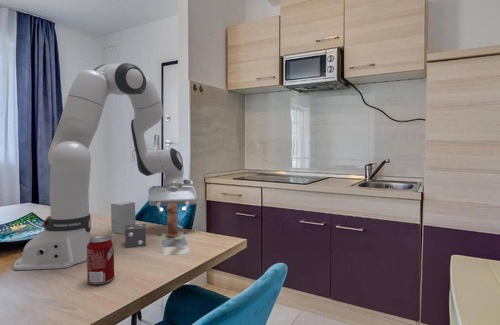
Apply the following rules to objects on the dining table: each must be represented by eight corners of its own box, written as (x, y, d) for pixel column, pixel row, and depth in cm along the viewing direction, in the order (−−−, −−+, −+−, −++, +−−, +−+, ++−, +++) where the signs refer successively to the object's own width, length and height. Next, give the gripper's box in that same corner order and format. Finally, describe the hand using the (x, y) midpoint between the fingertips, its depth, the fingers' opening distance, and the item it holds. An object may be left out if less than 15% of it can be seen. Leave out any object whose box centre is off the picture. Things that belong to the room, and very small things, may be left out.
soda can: (103, 287, 82) (102, 242, 81) (81, 284, 83) (80, 241, 82) (119, 276, 88) (118, 235, 88) (98, 274, 90) (97, 234, 89)
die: (125, 248, 112) (125, 229, 112) (126, 243, 119) (126, 224, 118) (145, 247, 114) (145, 228, 114) (145, 241, 121) (145, 223, 121)
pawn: (166, 238, 124) (166, 204, 123) (165, 235, 129) (165, 202, 128) (179, 237, 125) (179, 203, 125) (178, 233, 130) (178, 201, 130)
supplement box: (136, 230, 137) (135, 202, 136) (121, 234, 130) (120, 204, 130) (125, 227, 141) (125, 200, 140) (110, 231, 134) (110, 203, 134)
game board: (159, 257, 103) (159, 256, 103) (157, 234, 130) (157, 234, 130) (195, 253, 107) (195, 253, 107) (186, 232, 134) (186, 231, 134)
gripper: (148, 182, 132) (145, 209, 123) (196, 181, 136) (197, 207, 127) (149, 190, 137) (147, 217, 128) (196, 189, 141) (197, 215, 132)
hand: (172, 212), depth 128 cm, fingers open, 8 cm apart
